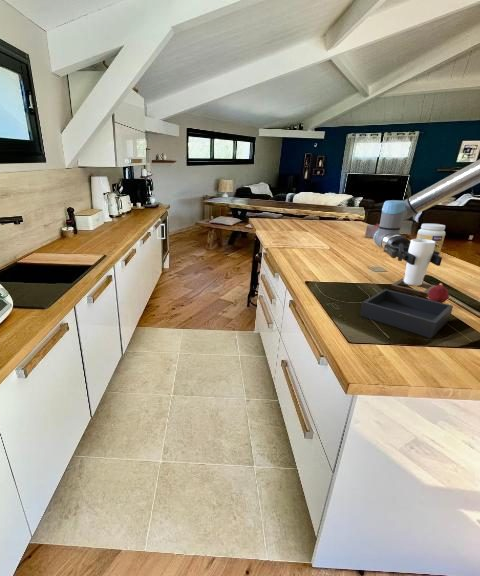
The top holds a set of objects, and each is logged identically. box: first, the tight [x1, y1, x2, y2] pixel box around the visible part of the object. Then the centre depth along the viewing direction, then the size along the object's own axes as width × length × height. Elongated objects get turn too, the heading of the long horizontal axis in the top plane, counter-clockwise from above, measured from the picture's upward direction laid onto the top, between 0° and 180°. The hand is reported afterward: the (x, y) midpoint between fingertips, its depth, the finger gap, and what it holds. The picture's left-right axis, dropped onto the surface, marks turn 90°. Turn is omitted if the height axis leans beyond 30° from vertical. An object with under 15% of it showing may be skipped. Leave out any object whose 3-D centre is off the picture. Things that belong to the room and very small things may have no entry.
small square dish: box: [389, 277, 437, 298], centre depth 126 cm, size 12×12×2 cm
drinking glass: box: [403, 238, 436, 287], centre depth 105 cm, size 7×7×15 cm
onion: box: [427, 282, 450, 303], centre depth 110 cm, size 6×6×8 cm
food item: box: [364, 223, 380, 239], centre depth 216 cm, size 14×8×10 cm, turn 59°
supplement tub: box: [415, 223, 446, 256], centre depth 170 cm, size 12×12×17 cm
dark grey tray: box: [359, 288, 454, 339], centre depth 101 cm, size 20×18×5 cm
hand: (426, 261), depth 99 cm, fingers closed on drinking glass, 7 cm apart
